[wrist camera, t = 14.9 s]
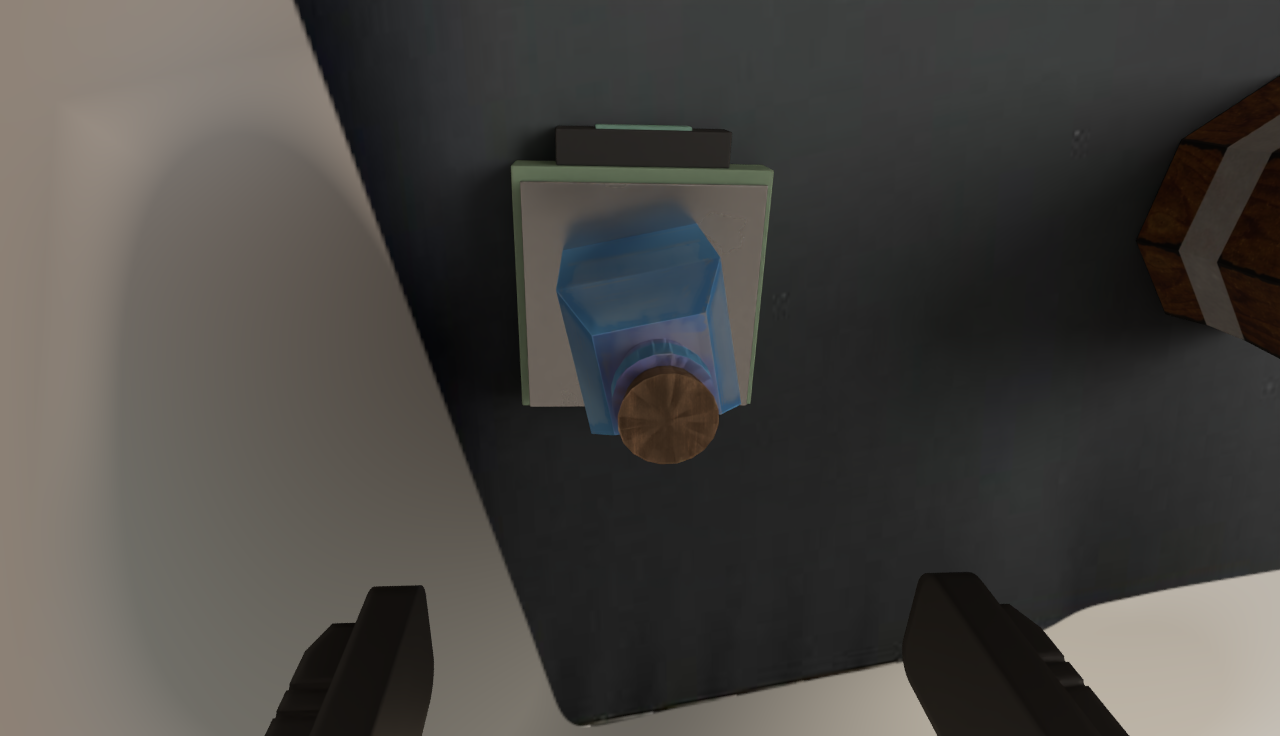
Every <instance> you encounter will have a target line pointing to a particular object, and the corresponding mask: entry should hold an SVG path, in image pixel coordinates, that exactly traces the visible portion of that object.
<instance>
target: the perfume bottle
mask: <svg viewBox="0 0 1280 736" xmlns="http://www.w3.org/2000/svg"><path fill="white" fill-rule="evenodd" d="M556 293H557V297H558V301H559V305H560V309H561V313H562V317H563V321H564V325H565V329H566V333H567V337H568V341H569V345H570V349H571V353H572V357H573V361H574V365H575V369H576V373H577V377H578V381H579V385H580V389H581V393H582V397H583V401H584V405H585V409H586V413H587V417H588V421H589V425H590V429H591V433H592V434H604V435H618V434H620V435H621V438H622V440H623V442H624V444H625V445H626V446H627V447H628V448H629V449H630V450H631V451H632V453H633V454H635V455H637V456H639V457H640V458H642V459H644V460H646V461H649V462H654V463H658V464H672V463H679V462H682V461H685V460H688V459H691V458H693V457H694V456H696V455H697V454H698V453H700V452H701V451H703V450H704V449H705V448H706V447H707V445H708V444H709V443H710V442H711V440H712V439H713V438H714V435H715V433H716V430H717V427H718V425H719V414H723V413H725V412H727V411H729V410H731V409H733V408H734V407H736V406H738V405H740V404H741V399H740V392H739V385H738V378H737V371H736V364H735V357H734V350H733V343H732V336H731V329H730V321H729V314H728V307H727V300H726V293H725V286H724V279H723V272H722V265H721V258H720V256H719V255H718V253H717V252H716V250H715V249H714V247H713V246H712V245H711V243H710V242H709V240H708V239H707V238H706V236H705V235H704V233H703V232H702V230H701V229H700V228H699V226H698V225H697V223H695V224H690V225H685V226H680V227H675V228H670V229H666V230H661V231H656V232H651V233H646V234H641V235H636V236H631V237H626V238H621V239H616V240H611V241H606V242H601V243H596V244H591V245H586V246H581V247H577V248H572V249H567V250H563V251H562V257H561V263H560V269H559V275H558V281H557V287H556Z"/></svg>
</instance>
